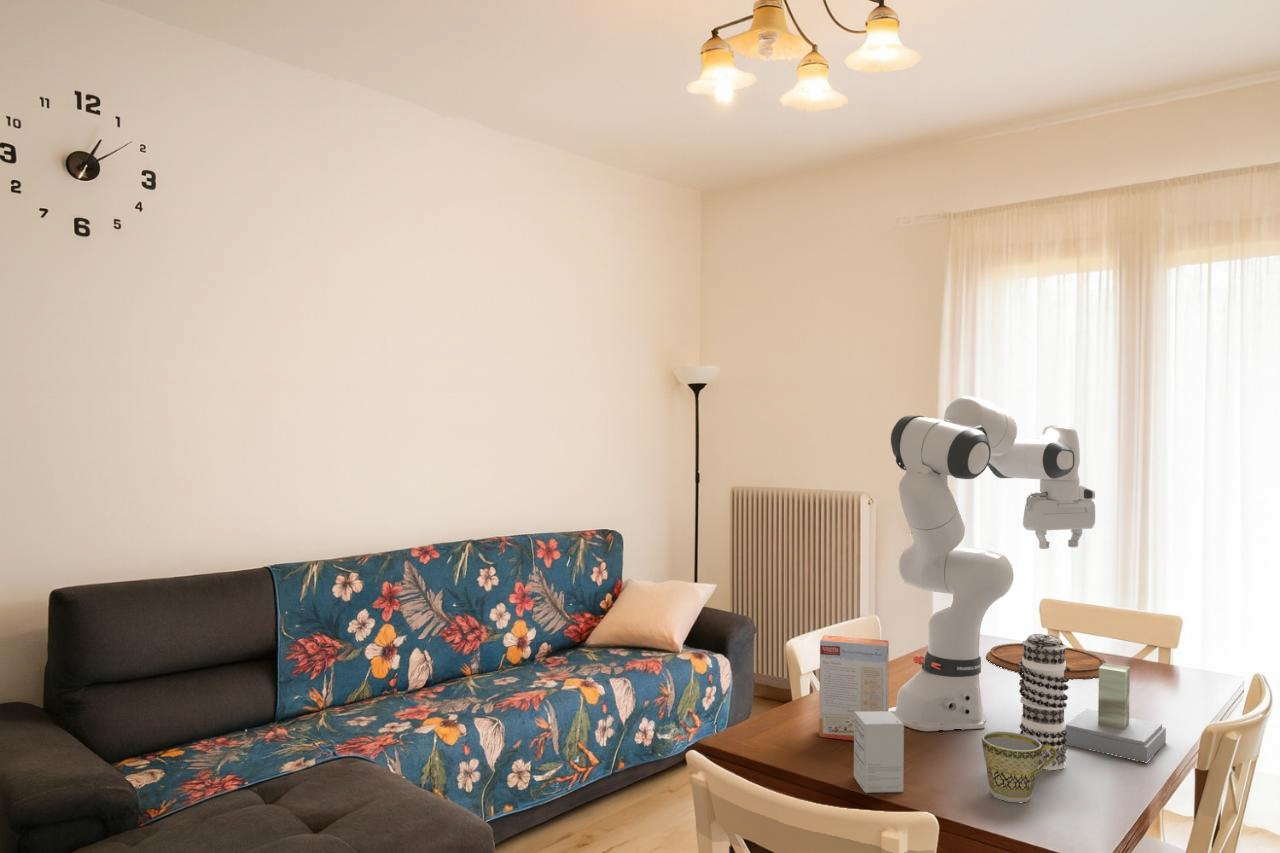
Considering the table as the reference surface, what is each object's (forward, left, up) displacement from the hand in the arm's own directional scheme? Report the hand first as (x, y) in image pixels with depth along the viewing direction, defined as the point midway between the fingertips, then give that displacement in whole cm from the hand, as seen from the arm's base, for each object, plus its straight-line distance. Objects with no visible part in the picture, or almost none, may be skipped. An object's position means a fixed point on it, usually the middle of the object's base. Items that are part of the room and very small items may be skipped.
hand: (1058, 547), depth 220 cm
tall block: (-14, -28, -33) cm, 45 cm away
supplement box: (-75, -29, -37) cm, 89 cm away
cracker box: (-64, -6, -37) cm, 74 cm away
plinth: (-14, -28, -37) cm, 48 cm away
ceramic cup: (-54, -42, -37) cm, 78 cm away
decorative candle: (-37, -31, -37) cm, 61 cm away
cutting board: (+24, +26, -38) cm, 52 cm away
